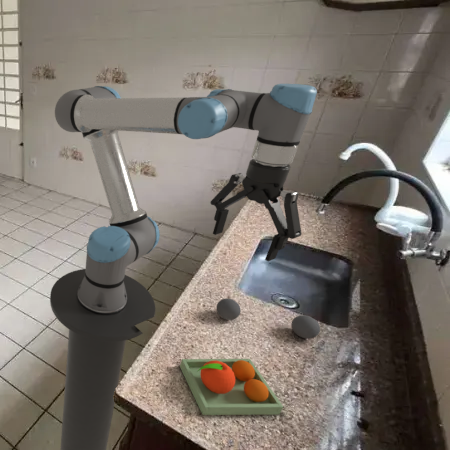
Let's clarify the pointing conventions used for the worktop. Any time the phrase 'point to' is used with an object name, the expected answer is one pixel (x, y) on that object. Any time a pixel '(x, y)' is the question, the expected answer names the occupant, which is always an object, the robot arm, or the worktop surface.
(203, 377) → the clementine
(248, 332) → the worktop surface
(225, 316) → the grey ball
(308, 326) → the grey ball
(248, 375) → the orange ball
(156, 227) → the robot arm
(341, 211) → the worktop surface
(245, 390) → the orange ball
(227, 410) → the tray
